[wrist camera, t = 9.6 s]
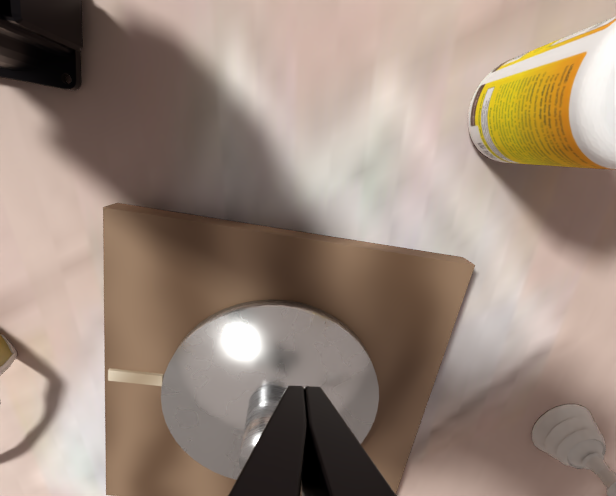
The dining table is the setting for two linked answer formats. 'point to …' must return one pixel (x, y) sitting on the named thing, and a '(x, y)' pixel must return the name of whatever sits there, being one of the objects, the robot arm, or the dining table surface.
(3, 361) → the sunglasses
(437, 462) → the dining table surface
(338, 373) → the dial
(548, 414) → the chalice
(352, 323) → the dial base
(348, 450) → the robot arm
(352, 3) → the dining table surface
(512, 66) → the supplement bottle
